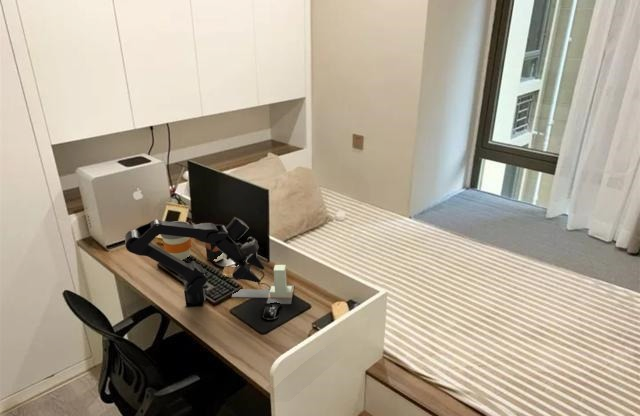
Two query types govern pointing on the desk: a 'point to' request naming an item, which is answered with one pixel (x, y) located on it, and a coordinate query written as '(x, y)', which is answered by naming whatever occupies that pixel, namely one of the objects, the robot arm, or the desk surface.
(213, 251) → the battery
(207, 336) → the desk surface
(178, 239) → the reusable coffee cup
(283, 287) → the t post
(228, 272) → the shard
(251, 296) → the t mat
